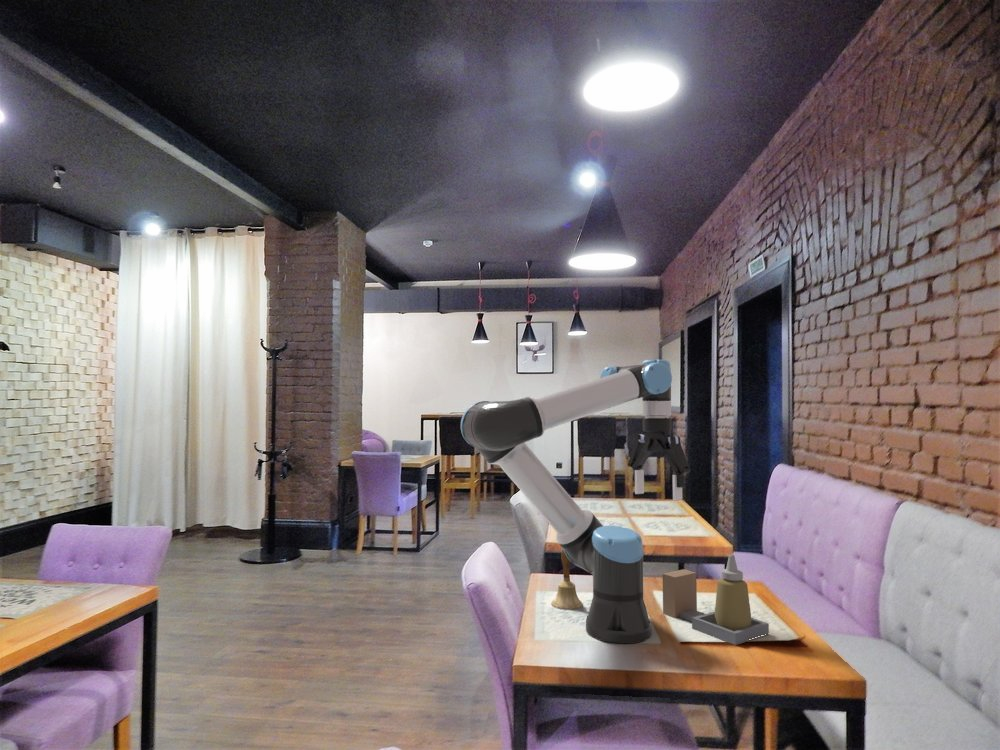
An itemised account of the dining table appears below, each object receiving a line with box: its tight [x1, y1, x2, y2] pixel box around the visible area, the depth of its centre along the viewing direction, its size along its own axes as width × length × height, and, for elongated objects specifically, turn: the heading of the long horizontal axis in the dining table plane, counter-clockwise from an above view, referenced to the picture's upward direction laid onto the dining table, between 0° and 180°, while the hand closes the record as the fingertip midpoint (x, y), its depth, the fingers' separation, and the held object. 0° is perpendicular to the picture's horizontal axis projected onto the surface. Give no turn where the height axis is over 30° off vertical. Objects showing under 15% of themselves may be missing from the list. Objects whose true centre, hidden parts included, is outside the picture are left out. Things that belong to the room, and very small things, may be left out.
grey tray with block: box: [662, 568, 770, 646], centre depth 147 cm, size 23×12×10 cm, turn 32°
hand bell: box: [551, 548, 584, 610], centre depth 162 cm, size 8×8×16 cm
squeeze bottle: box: [714, 554, 752, 631], centre depth 141 cm, size 8×8×18 cm
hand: (657, 496), depth 162 cm, fingers open, 13 cm apart
